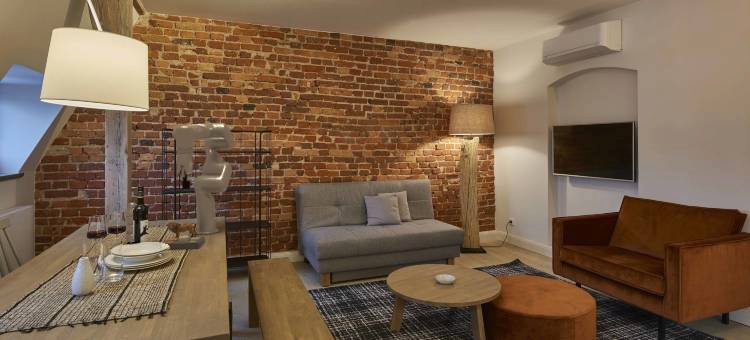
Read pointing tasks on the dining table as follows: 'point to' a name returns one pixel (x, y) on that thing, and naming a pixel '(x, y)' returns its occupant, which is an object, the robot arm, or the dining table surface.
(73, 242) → the dining table surface
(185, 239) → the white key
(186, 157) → the robot arm
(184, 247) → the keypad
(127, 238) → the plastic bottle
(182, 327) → the dining table surface
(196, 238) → the sage key
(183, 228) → the lion figurine
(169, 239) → the terracotta key
